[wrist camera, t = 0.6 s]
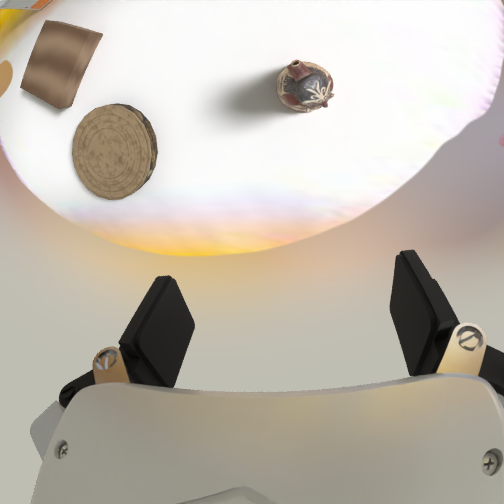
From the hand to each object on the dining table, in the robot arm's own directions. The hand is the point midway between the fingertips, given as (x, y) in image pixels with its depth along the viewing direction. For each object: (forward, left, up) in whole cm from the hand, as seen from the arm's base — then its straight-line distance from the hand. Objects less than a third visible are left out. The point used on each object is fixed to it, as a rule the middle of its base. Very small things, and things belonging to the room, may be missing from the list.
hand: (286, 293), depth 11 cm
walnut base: (+4, -43, -31) cm, 53 cm away
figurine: (-9, -3, -31) cm, 32 cm away
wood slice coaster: (+14, -23, -31) cm, 41 cm away
